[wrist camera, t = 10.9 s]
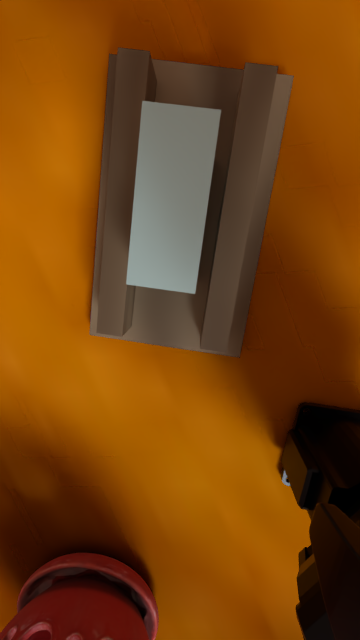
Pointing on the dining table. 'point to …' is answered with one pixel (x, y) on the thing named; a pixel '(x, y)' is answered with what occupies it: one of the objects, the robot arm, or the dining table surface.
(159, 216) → the pale grey block
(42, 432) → the dining table surface
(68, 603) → the plant pot
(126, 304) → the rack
